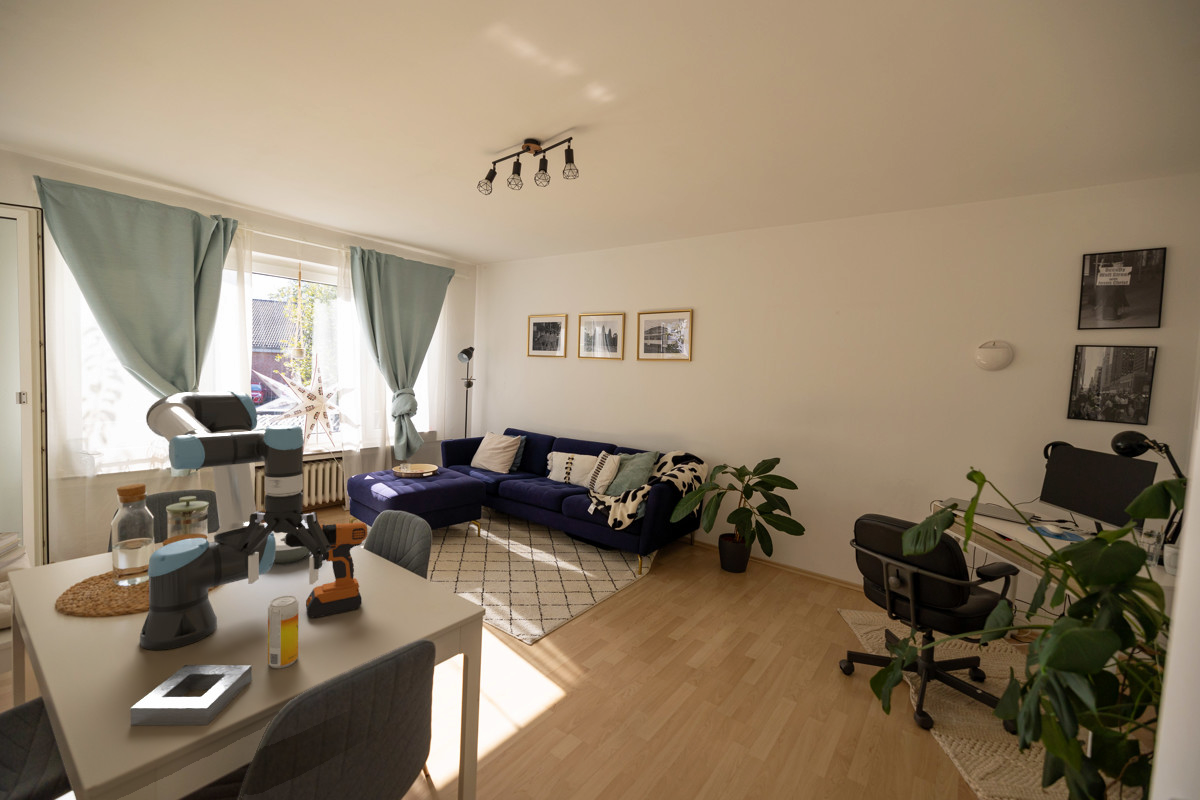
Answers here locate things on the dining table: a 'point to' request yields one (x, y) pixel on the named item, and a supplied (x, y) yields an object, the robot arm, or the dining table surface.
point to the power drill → (335, 570)
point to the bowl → (287, 550)
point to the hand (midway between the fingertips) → (283, 581)
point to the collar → (178, 710)
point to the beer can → (282, 631)
